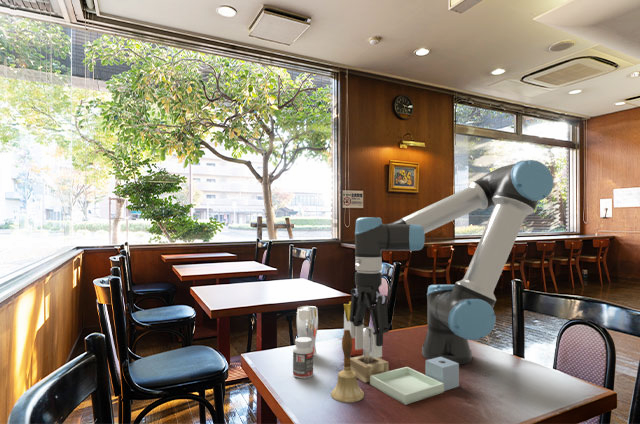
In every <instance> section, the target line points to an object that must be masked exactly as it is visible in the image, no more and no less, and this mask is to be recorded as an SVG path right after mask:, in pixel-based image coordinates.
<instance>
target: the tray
mask: <svg viewBox="0 0 640 424" xmlns="http://www.w3.org/2000/svg"><path fill="white" fill-rule="evenodd" d="M369 385H370V386H372V387H374V388H376V389H377V390H379V391H381V392H382V393H384V394H385V395H387V396H389V397H391V398H393V399H395V400H396V401H398V402H400V403H401V404H403V405H404V406H406V405H409V404H412V403H416V402H419V401H422V400H425V399H428V398H431V397H435V396H437V395H440V394H443V393H445V391H444V383H442V382H439V381H437V380H435V379H433V378H431V377H429V376H426V375H425V374H424V373H422V372H419V371H417V370H415V369H413V368H411V367H409V366H405V367H401V368H396V369H392V370H389V371H388V372H384V373H380V374H376V375H372V376H370V382H369Z"/></svg>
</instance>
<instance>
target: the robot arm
mask: <svg viewBox="0 0 640 424" xmlns="http://www.w3.org/2000/svg"><path fill="white" fill-rule="evenodd" d="M553 188H554V176H553V175H552V174H551V171H550V169H549V168H548V166H547V165H545V164H544V163H542V162H541V161H538V160H536V159H535V160H534V159H527V160H520V161H517V162H515V163H513V164H512V163H511V164H509V165H505V166H500V167H497V168H496V169H494V170H491V171H490V172H488V173H487V174H485V175H483V176H482V177H480V178H478V179H476V180H474V181H471V182H470V183H469V184H468V187H467V188H464V189H462V190H460V191H458V192H456V193H453V194H451V195H450V196H447V197H444V198H442V199H441V200H439V201H436V202H434V203H432V204H429V205H428V206H425V207H424V208H422V209H419V210H417V211H414V212H413V213H410V214H409V215H406V216H404V217H401V218H400V219H398V220H395V221H393V222H391V223H386V224H385V223H383V222H382V218H381V217H375V216H373V217H372V216H371V217H367V216H365V217H358V218H357V219H355V228H354V229H355V230H354V251H355V252H354V254H355V255H354V256H355V258H354V259H355V261H354V262H355V265H354V266H355V267H354V269H355V273H354V283H355V284H354V285H355V286H357V288H351V289H350V294H351V295H350V296H351V297H350V299H351V310H350V322H353V325H354V326H355V349H356V350H359V349H363V327H365V322H364V323H363V319H364V320H365V315H366V311H367V309H368V310H369V314H370V317H371V321H372V327H373V328H374V333H373V358H378V357H379V358H383V345H384V334H385V333H389V331H390V329H389V315H388V306H387V304H388V296H387V295H385V294H384V295H383V294H381V292H380V287H381V286H382V285H383V284H382V276H383V275H382V273H381V271H382V270H383V267H382V266H383V261H382V260H383V259H382V255H383V254H382V252H383V251H385V252H387V251H394V252H395V251H398V252H400V251H406V252H408V251H410V252H414V251H420V250H422V249H423V248H424V246H425V240H426V238H425V237H426V236H425V234H427V233H429V232H431V231H434V230H435V229H438V228H440V227H442V226H444V225H446V224H449V223H450V222H452V221H455V220H457V219H459V218H461V217H463V216H466V215H468V214H470V213H472V212H473V211H474V212H475V211H476V210H479V209H480V210H486V209H488V208H490V207H493V209H492V212H491V214H490V216H489V219H488V220H487V223H486V226H485V228H484V230H483V232H482V235H481V237H480V240H479V241H478V244H477V247H476V249H475V251H474V254H473V256H472V258H471V261H470V263H469V265H468V266H467V267H468V268H467V269H466V272H465V274H464V276H463V278H462V279H461V280H459V281H456V282H455V284H430V285H428V287H427V293H426V298H427V299H426V300H427V303H426V304H427V332H426V335H425V338H424V341H423V344H422V347H421V351H422V352H421V355H422V356H423V357H424V358H425V359H426V360H429V359H433V358H437V357H443V358H446V359H448V360H451V361H454V362H456V363H459V365H465V364H468V363H471V361H472V359H473V356H472V355H473V354H472V350H471V348H470V343H469V341H478V340H481V339H484V338H486V337H487V336H489V335H490V333H491V332H493V330H494V327H495V325H496V321H497V320H496V319H497V318H496V317H497V316H496V315H495V311H494V307H495V304H496V302H497V298H496V295H495V294H494V292H495V288H496V287H497V284H498V281H499V279H500V277H501V275H502V272H503V270H504V268H505V266H506V263H507V261H508V259H509V255H510V254H511V251H512V248H514V247H513V246H514V244H515V242H516V239H517V237H518V235H519V233H520V230H521V228H522V225H523V223H524V220H525V218H526V217H527V216H530V215H532V214H533V213H534V212H535V210H536V208H537V206H538V203H539V201H542V200H544V199H546V198H548V196H550V195H551V193H552V191H553ZM354 317H355V318H354ZM363 324H364V326H363ZM361 325H362V326H361Z"/></svg>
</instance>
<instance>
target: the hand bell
mask: <svg viewBox="0 0 640 424" xmlns="http://www.w3.org/2000/svg"><path fill="white" fill-rule="evenodd" d="M341 348H342V352H343V369H342V370H341V371H339V372H338V375H337V376H338V377H337V382H336V385H335V387H334V388H333V389H332V391H331V393H330V397H331V398H332V399H333V400H335V401H337V402H340V403H341V402H342V403H345V404H346V403H350V404H351V403H356V402H359V401H361V400H363V399H364V397H365V393H364V390H362V389H361V387H360V385H359V383H358V380H357V379H358V378H357V377H356V373H355V372H354V371H352V370H351V367H350V366H351V364H350V358H351V356H350V354H351V351H352V337H351V334H350V330H345V331H344V330H343V335H342V339H341Z"/></svg>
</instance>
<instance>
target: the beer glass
mask: <svg viewBox="0 0 640 424" xmlns="http://www.w3.org/2000/svg"><path fill="white" fill-rule="evenodd" d="M296 311H297V312H296V330H297V331H296V332H297V336H298V337H297V338H299V337H309V338H311V339H312V344H311V347H312V348H313V358H314V357H316V356H317V348H316V340H317V339H316V338H317V333H318V327H319V316H318V314H319V313H318V312H319V311H318V307H316V306H313V305H302V306H298V307H297V310H296Z"/></svg>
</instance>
